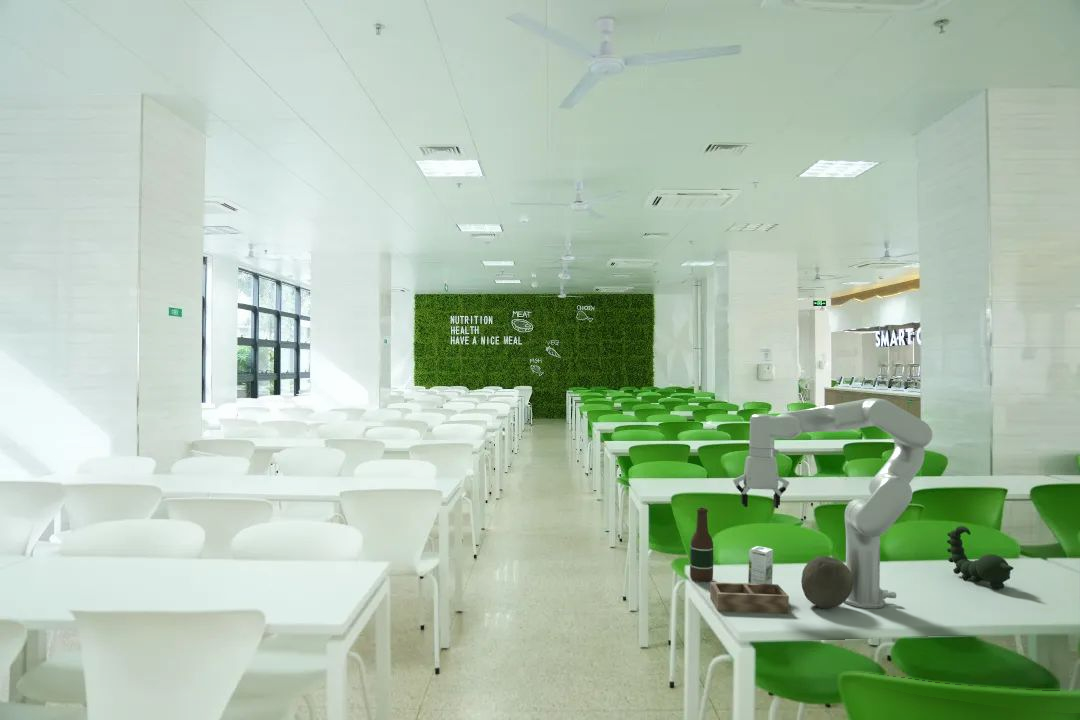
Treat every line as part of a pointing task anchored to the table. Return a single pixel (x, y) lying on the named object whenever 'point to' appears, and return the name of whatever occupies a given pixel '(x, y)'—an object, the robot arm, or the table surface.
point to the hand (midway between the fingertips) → (760, 506)
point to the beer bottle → (701, 550)
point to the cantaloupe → (826, 582)
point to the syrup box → (760, 565)
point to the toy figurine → (977, 563)
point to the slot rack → (749, 597)
